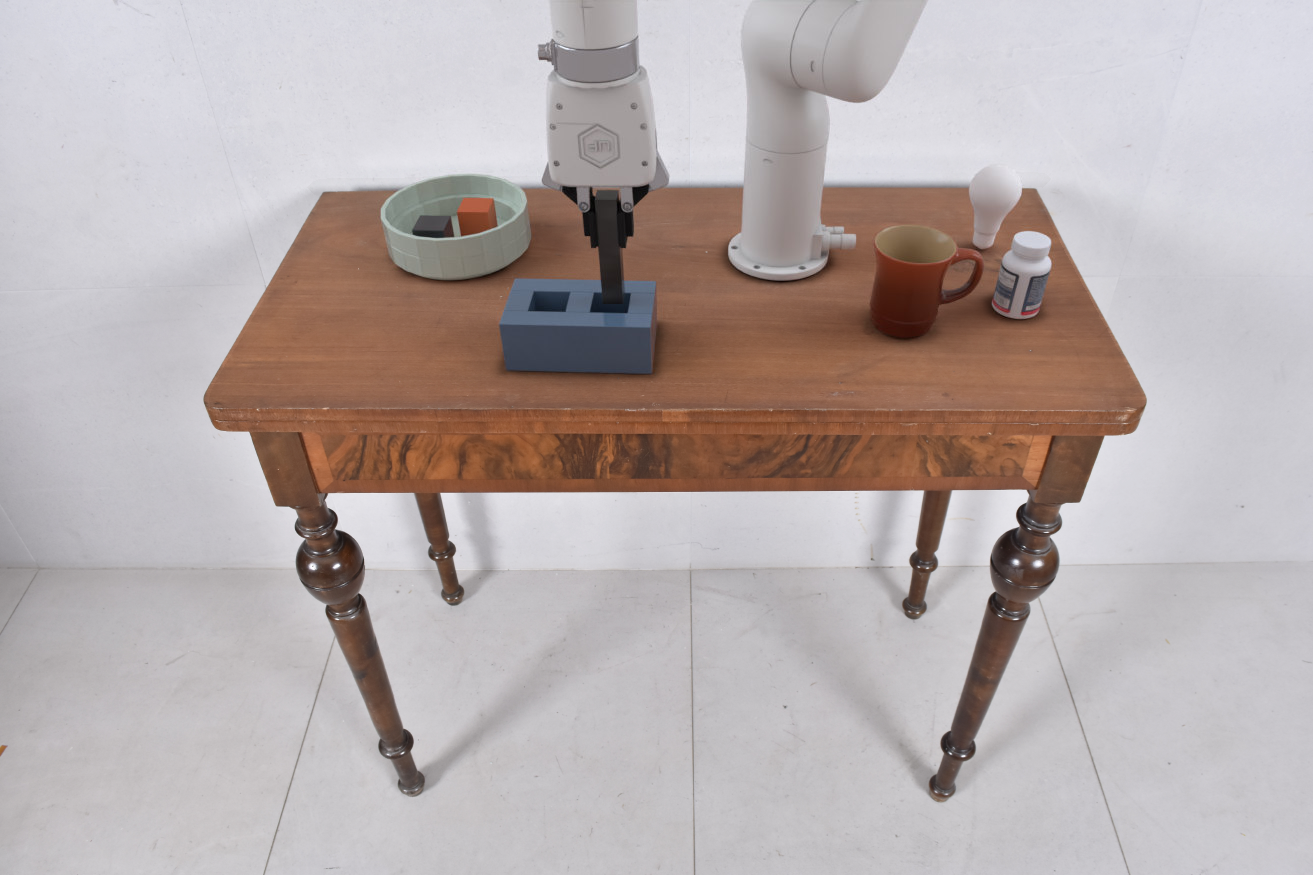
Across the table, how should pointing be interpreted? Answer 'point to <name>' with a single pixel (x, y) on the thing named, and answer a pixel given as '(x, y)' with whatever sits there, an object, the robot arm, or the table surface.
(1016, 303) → the pill bottle
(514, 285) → the holder
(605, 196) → the rectangular bar
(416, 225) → the block
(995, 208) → the lightbulb
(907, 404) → the table surface
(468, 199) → the block
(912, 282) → the mug
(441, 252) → the bowl
